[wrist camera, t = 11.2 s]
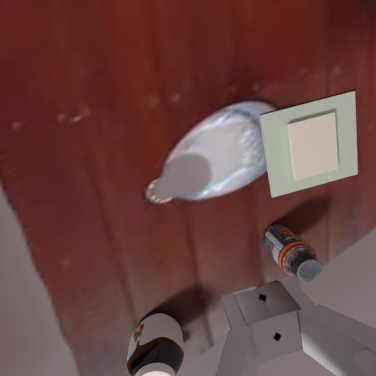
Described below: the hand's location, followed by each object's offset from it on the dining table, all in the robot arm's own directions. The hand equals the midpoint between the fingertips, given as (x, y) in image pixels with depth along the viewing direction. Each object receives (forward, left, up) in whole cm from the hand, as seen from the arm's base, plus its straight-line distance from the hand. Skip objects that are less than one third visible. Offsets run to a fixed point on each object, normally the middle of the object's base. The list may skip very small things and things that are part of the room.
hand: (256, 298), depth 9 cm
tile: (+2, +19, -30) cm, 35 cm away
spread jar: (+33, -14, -31) cm, 48 cm away
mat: (+2, +23, -31) cm, 39 cm away
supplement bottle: (+18, +14, -31) cm, 39 cm away
